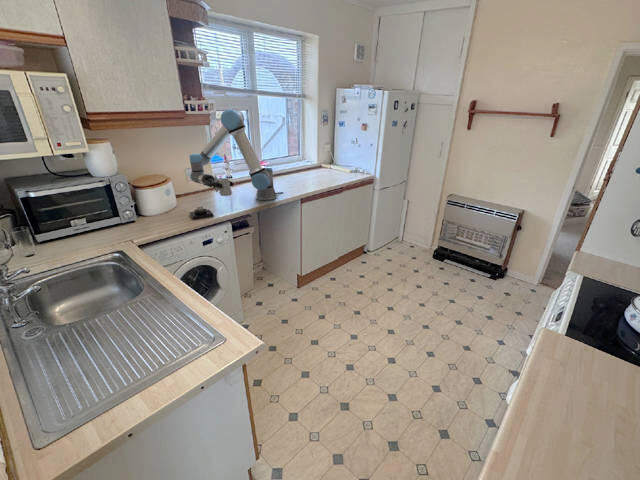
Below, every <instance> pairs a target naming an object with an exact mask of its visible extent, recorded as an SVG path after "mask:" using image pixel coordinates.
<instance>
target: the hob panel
mask: <svg viewBox="0 0 640 480" xmlns="http://www.w3.org/2000/svg"><path fill="white" fill-rule="evenodd" d="M189 216H190V217H191V219H192V220H193V221H195V220H203V219H209V218H214V213H213V212H212V211H211V209H209V208H208V209H207V208H205V207H204V211H197V208H196V209H194V211H189Z"/></svg>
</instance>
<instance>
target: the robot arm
mask: <svg viewBox="0 0 640 480" xmlns="http://www.w3.org/2000/svg"><path fill="white" fill-rule="evenodd" d="M220 123H221V124H222V126H221V127H220V128H219V129H218V131H217V132H216V133H215V135H214V136H213V137H212V138H211V139H210V141H208V143H207V144H206V146H205V147H204V148H203V149H202V151H201V152H200V153H191V154H189V162H190V168H191V173H190V174H189V178H190V180H191V181H192V182H194V183H196V184H200V185H203V186H206V187H209V188H213V189H214V188H215V187H218V188H221V189H222V188H223V187H222V184H220V183H219V181H217V183H214V175H212V174H208V173H205V170H204V166H207V165H208V164H209V163H210V162H211V160H212V158H213V157H214V156H215V155H216V153H217V152H218V151H219V150H220V149H221V147H223V145H224V144H225V143H226V142H227V140H229V138H230V137H231V136H232V137H233V139H234V141H235V143H236V145H237V147H238V149H239V151H240V153H241V155H242V157H243V159H244V161H245V163H246V165H247V168H248V170H249V172H248V174H249V177H250V178H251V185H252V186H253V188H255V189H256V194H255V199H256V200H258V201H272V200H276V199H277V197H278V196H277V195H279V194H283V193H284V192H283V191H279V192H276V190H275V187H274V172H273V168H272V167H271V166H263V165H262V163H261V161H260V159H259V158H258V155H257V153H256V150H255V149H254V147H253V145H252V142H251V141H250V138H249V137H248V136H249V135H248V134H247V132H246V128H247V126H246V125H245V116H244V113H243V112H242V110H240V109H238V108H227V109H225V110H224V111H222V113H221V114H220ZM222 178H223V177H219V178H218V177H217V179H222ZM229 183H230V187H234V182H233V181H230V179H229Z"/></svg>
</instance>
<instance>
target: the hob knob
mask: <svg viewBox="0 0 640 480" xmlns="http://www.w3.org/2000/svg"><path fill="white" fill-rule="evenodd" d="M204 208H205V207H204V206H197V207H196V209H197V211H204Z"/></svg>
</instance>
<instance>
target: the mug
mask: <svg viewBox="0 0 640 480" xmlns="http://www.w3.org/2000/svg"><path fill="white" fill-rule="evenodd" d="M213 177H214V183H218V182H217V181H219V183H220V184H222V187H223V188H222V189H221V188H218V187H215V188H213V189H214V191H215V192H216V193H219V195H220V196H221V197H229V196H231V195H232V193H233V192H232V189H231V186H230V183H229V180H230V179H229V178H225V177H221V178H222V179H219V178H218V176H217V175H215V174H214V175H213ZM217 178H218V179H217Z"/></svg>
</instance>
